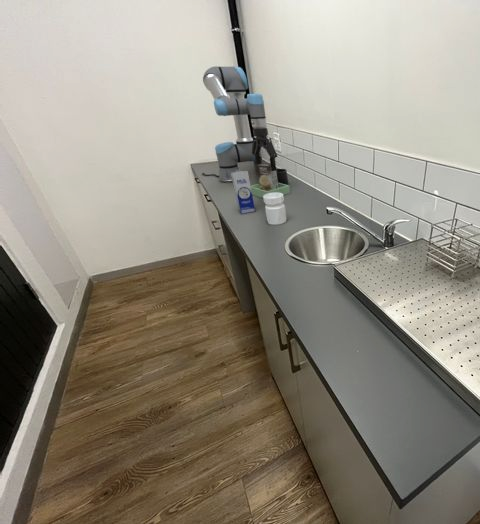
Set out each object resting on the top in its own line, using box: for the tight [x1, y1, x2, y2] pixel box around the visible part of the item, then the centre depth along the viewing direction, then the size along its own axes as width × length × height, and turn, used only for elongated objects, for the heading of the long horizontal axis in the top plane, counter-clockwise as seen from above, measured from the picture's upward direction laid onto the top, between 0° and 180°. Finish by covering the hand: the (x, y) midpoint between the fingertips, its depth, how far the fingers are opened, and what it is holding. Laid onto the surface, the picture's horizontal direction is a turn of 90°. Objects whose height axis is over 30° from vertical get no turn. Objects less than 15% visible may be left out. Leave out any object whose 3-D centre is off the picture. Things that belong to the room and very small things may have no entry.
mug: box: [276, 168, 289, 185], centre depth 186 cm, size 9×12×9 cm
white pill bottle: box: [262, 193, 287, 226], centre depth 131 cm, size 9×9×12 cm
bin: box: [250, 183, 291, 199], centre depth 170 cm, size 18×16×4 cm
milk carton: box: [231, 169, 256, 215], centre depth 141 cm, size 7×7×20 cm
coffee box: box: [255, 162, 279, 191], centre depth 167 cm, size 9×6×16 cm
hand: (266, 169), depth 164 cm, fingers open, 13 cm apart
